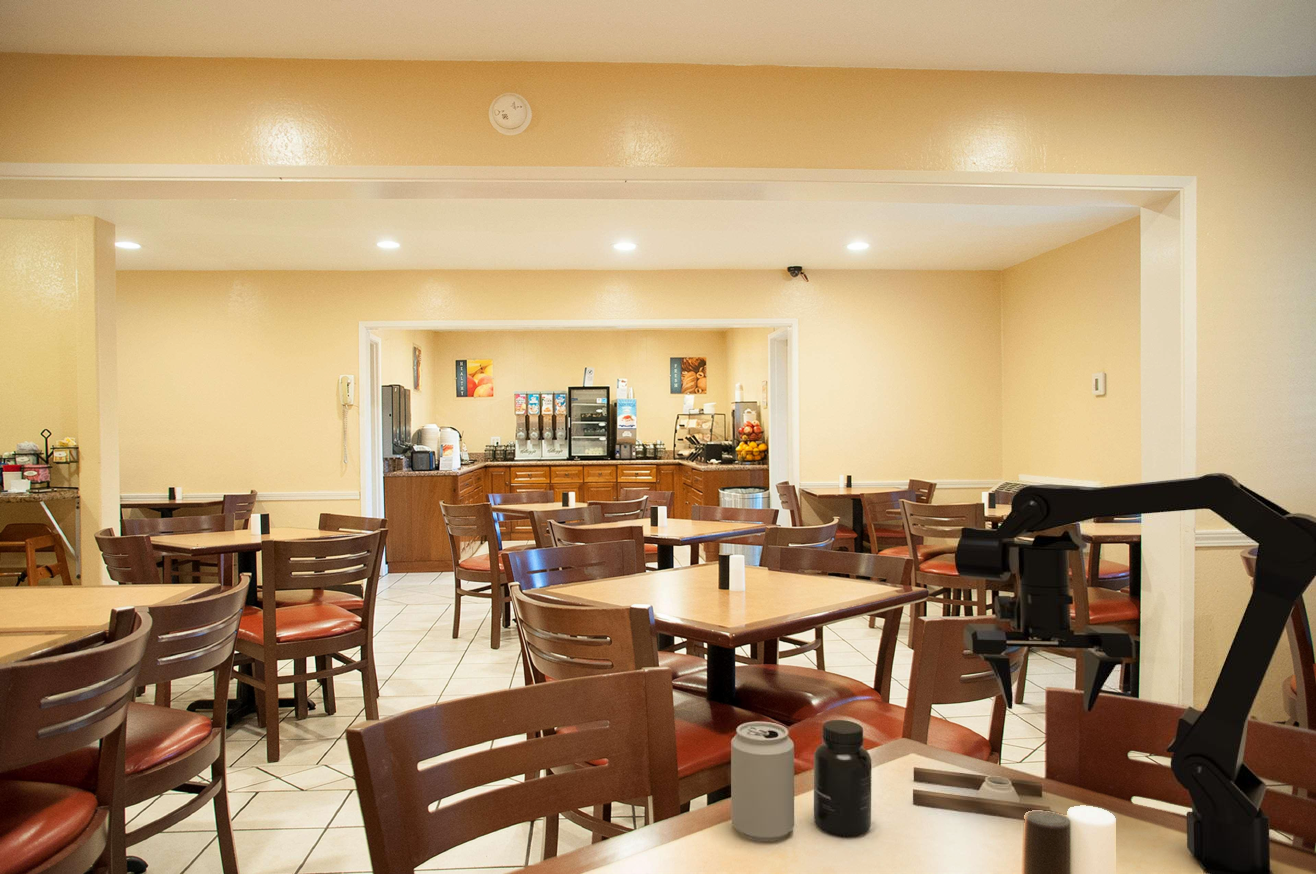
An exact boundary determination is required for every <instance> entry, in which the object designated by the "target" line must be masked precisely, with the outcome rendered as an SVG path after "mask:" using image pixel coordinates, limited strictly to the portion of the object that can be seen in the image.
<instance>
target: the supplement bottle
mask: <svg viewBox="0 0 1316 874" xmlns="http://www.w3.org/2000/svg"><path fill="white" fill-rule="evenodd" d="M821 741H822V742H823V743H821V744H819V745H818V746H817V747H816V749H815V751H814V755H813V821H814V823H815V825H816V826H817V828H819V829H820V830H821V831H822V832H824V833H825V834H828V835H831V836H834V837H839V838H845V839H846V838H847V839H848V838H851V839H852V838H857V837H862V836H864V835H866V834H867V833H868V832H869V831H870V829H871V826H872V772H873V771H872V758H871V755H870V753H869V752H868V751H867V749H866V748H865V747H863V745H864V728H863V727H862V725H860V723H857V722H854V721H852V720H851V721H850V720H843V719H832V720H828V721H825V722H824V723H823V724H822V735H821Z"/></svg>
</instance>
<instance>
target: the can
mask: <svg viewBox="0 0 1316 874" xmlns="http://www.w3.org/2000/svg"><path fill="white" fill-rule="evenodd" d="M735 730H736V734H735V736H734V737H732V739H731V740H730V745H731V746H730V749H731V750H730V751H731V752H730V753H731V754H730V771H731V772H730V774H731V775H730V781H731V784H730V788H731V789H730V791H731V793H730V796H731V797H730V798H731V799H730V800H731V801H730V804H731V807H730V808H731V812H730V813H731V814H730V817H731V818H730V819H731V824H732V825H733V827H734V829H736V830H737V831H738V833H740V835H742V836H744V837H745V838H747V839H750V840H752V841H759V842H772V841H779V840H782V839H783V838H785V837H786V836H787V834H788V833H790V832H791V831H792V830H793V829H794V826H795V744H794V742H793V740H792V739H791V738H790V737H789V730H788V728H786V727H785V726H784V725H780V724H779V723H773V722H769V721H749V722H744V723H742V724H740V725H738V726H737V728H736V729H735Z"/></svg>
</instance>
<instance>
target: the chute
mask: <svg viewBox="0 0 1316 874" xmlns="http://www.w3.org/2000/svg"><path fill="white" fill-rule="evenodd" d="M988 776H989V775H983V774H976V773H975V774H974V773H973V774H972V773H966V772H956V771H950V770H940V769H933V768H932V769H931V768H925V767H915V766H914V767H913V782H916V783H922V784H923V783H924V784H932V785H938V784H939V785H938V786H948V787H954V786H955V787H956V788H962V787H963V788H964V789H970V788H972V789H971V790H978V789H980V788H981V786H982V784H983V783H984V782H986V781H985V779H986V777H988ZM1006 778H1007V777H1006ZM1007 779H1009V780H1010V781H1011V784H1012V785H1011V786H1013V787H1014V789H1015V791H1016V793H1017V795H1018V796H1028V797H1036V798H1043V784H1042V782H1041V781H1033V780H1026V779H1025V780H1023V779H1017V778H1016V779H1015V778H1009V777H1008V778H1007ZM912 805H913V806H918V807H919V806H920V807H925V808H935V809H942V810H948V811H957V812H963V813H964V812H965V813H972V814H977V815H979V814H980V815H986V816H993V817H1002V818H1009V819H1017V820H1023V821H1024V815H1025V813H1026V812H1028V811H1032V810H1043V811H1051V812H1052V810H1051V807H1050V806H1047V805H1040V804H1039V805H1038V804H1033V803H1025V802H1020V803H1017V802H1009V801H1001V800H993V799H986V798H978V796H971V795H970V796H968V795H960V794H953V793H947V792H945V793H944V792H936V791H930V790H922V789H921V790H920V789H912Z"/></svg>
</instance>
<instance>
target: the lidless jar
mask: <svg viewBox="0 0 1316 874" xmlns="http://www.w3.org/2000/svg"><path fill="white" fill-rule="evenodd" d="M987 776H988V777H986V779H985V781H986V782H984V783H983V784H982V786H981V788H980V789H979V790H978V791H977V796H976V797H978V798H986V799H993V800H1001V801H1009V802H1017V803H1021V799H1020V797H1019V795H1018V794H1017V793H1016V791H1015V789H1014V787H1013V786H1011V785H1012V784H1011V781H1010V780H1009V779H1010V778H1009V779H1007V777H1004V776H999V775H987Z"/></svg>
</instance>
